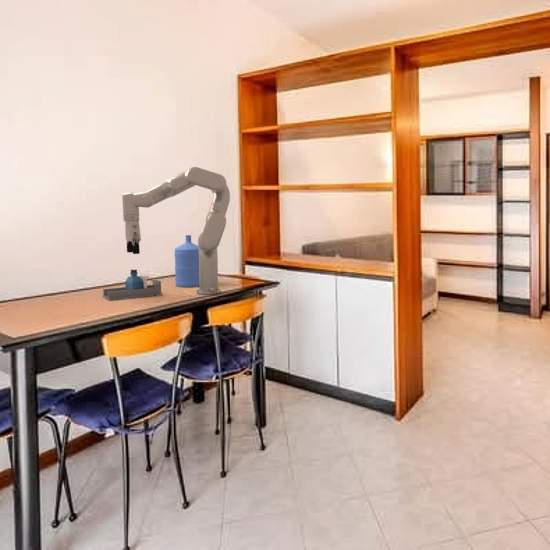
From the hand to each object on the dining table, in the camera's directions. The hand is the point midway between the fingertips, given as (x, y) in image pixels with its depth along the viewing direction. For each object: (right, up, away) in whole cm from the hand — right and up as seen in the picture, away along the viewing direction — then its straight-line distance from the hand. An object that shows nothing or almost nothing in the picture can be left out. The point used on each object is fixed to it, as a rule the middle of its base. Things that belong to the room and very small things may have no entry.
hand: (133, 253), depth 256 cm
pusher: (+4, -20, +5) cm, 21 cm away
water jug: (+22, -17, +35) cm, 45 cm away
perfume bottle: (0, -20, +3) cm, 21 cm away
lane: (-1, -21, +2) cm, 21 cm away
